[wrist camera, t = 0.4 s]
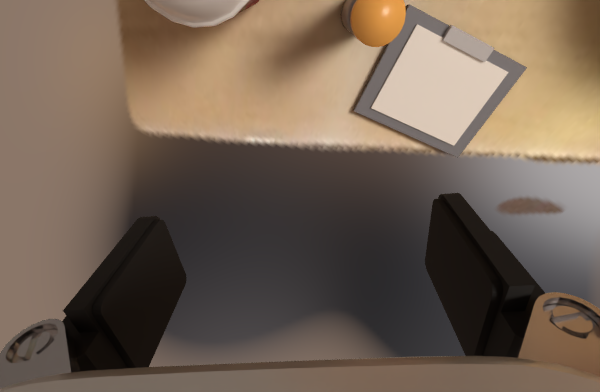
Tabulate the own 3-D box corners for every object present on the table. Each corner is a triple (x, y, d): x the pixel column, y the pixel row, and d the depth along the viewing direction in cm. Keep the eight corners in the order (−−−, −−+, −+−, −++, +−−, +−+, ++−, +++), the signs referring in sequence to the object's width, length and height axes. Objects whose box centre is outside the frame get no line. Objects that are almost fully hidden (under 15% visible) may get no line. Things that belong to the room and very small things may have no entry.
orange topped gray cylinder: (350, -16, 29) (368, -25, 20) (384, 1, 30) (416, 1, 21) (333, 24, 31) (343, 33, 22) (365, 40, 31) (387, 55, 22)
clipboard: (408, 3, 30) (412, 3, 29) (524, 65, 32) (530, 67, 31) (353, 109, 35) (354, 112, 34) (455, 155, 38) (459, 159, 37)
